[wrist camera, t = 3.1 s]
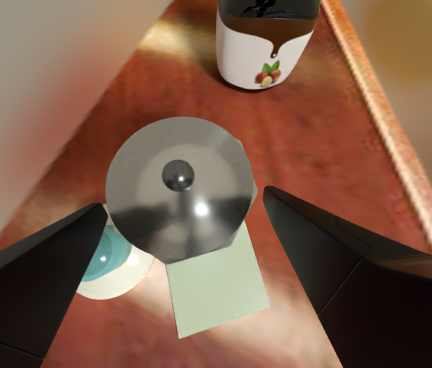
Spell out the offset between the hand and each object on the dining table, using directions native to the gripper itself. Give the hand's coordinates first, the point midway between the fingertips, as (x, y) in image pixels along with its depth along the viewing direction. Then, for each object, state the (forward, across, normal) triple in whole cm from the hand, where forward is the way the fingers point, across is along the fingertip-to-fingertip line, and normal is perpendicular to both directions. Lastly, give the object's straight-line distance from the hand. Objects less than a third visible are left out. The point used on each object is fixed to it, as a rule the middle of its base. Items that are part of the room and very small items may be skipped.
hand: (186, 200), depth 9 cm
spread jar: (+21, -10, -8) cm, 25 cm away
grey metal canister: (+6, 0, +5) cm, 8 cm away
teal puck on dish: (+4, +9, +8) cm, 13 cm away
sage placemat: (+4, -1, +8) cm, 9 cm away
